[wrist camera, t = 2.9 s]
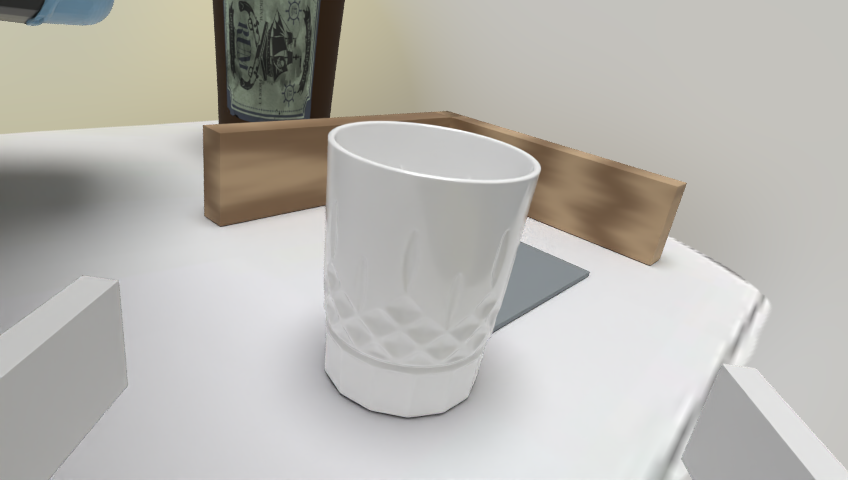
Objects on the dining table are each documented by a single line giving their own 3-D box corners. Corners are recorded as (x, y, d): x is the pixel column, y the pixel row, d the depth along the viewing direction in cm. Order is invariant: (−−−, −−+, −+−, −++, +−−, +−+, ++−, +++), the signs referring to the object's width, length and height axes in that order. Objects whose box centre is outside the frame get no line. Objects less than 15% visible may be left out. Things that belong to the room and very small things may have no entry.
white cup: (449, 313, 29) (484, 127, 25) (520, 416, 22) (585, 185, 18) (298, 322, 26) (311, 114, 22) (328, 444, 19) (355, 176, 15)
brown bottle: (228, 135, 54) (229, -166, 44) (335, 148, 55) (359, -141, 46) (196, 165, 44) (189, -212, 34) (327, 180, 46) (355, -178, 36)
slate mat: (330, 247, 34) (330, 243, 34) (449, 214, 42) (450, 210, 42) (483, 337, 27) (485, 332, 27) (588, 275, 36) (589, 271, 36)
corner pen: (204, 215, 35) (202, 125, 33) (437, 172, 53) (448, 111, 50) (467, 391, 23) (495, 266, 21) (659, 259, 40) (686, 183, 38)
